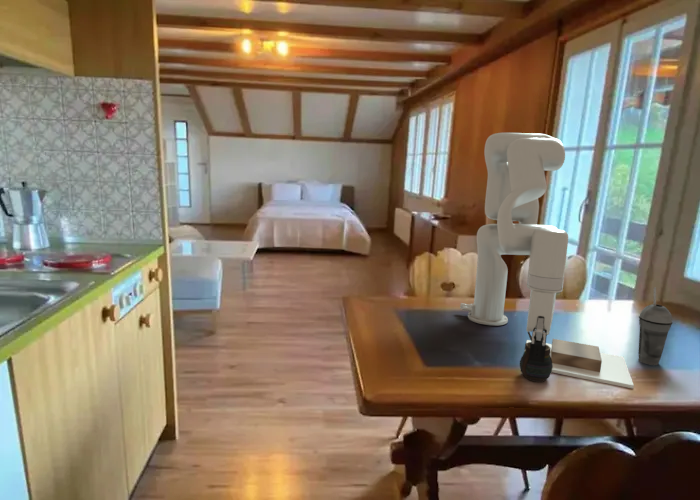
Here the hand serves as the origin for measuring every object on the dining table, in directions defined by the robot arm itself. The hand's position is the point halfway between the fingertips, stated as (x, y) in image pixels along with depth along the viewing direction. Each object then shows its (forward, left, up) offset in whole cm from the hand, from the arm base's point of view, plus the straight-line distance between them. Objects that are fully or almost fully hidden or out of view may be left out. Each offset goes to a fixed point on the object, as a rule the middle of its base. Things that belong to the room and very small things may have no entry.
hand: (537, 353), depth 105 cm
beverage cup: (+27, +25, -6) cm, 38 cm away
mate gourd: (0, 0, -6) cm, 6 cm away
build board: (+9, +14, -6) cm, 18 cm away
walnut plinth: (+9, +14, -5) cm, 18 cm away
